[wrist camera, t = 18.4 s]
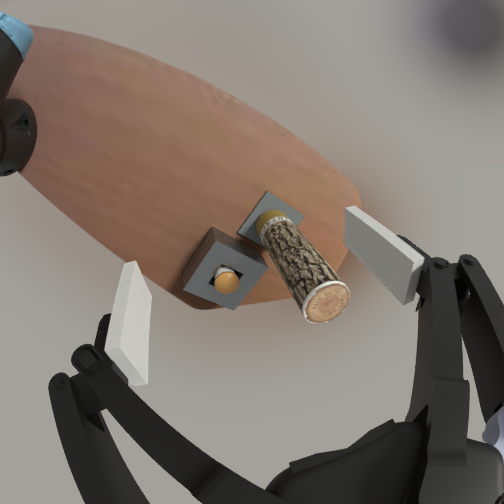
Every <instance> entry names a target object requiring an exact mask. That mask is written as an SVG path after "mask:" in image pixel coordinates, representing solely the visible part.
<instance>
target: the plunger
mask: <svg viewBox="0 0 504 504" xmlns="http://www.w3.org/2000/svg"><path fill="white" fill-rule="evenodd" d="M214 277H215V281H214V284H215V288H216V290H217V291H218V292H220V293H222V294H229V293H232V292H234V291H235V290H236V289H237V288H238V287H239V279H238V276H237V275H236V274H235V272H234V269H232V268H229V267H227V266H225V265H223V264H221V266H220V267H219V269H218V270H217V271H216V273H215V274H214Z"/></svg>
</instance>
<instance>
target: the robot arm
mask: <svg viewBox="0 0 504 504" xmlns="http://www.w3.org/2000/svg"><path fill="white" fill-rule="evenodd" d="M33 36H34V34H33V31H32V30H31V28H30V27H28V26H27V25H26V24H25V23H23V22H21V21H20V20H18V19H16V18H14V17H12V16H10V15H6V14H4V13H2V12H0V176H8V175H11V174H13V173H15V172H16V171H18V170H20V169H21V168H22V167H23V166H24V165H25V164H26V163H27V161H28V160H29V158H30V157H31V155H32V152H33V150H34V147H35V143H36V137H37V124H36V118H35V115H34V112H33V110H32V109H31V107H30V106H29V105H28V104H27V103H26V102H25V101H23V100H21V99H6V96H7V94H8V92H9V89H10V87H11V85H12V83H13V80H14V78H15V76H16V74H17V72H18V70H19V68H20V66H21V64H22V63H23V62H24V59H25V55H26V53H27V51H28V49H29V48H30V46H31V44H32V42H33ZM5 99H6V100H5ZM344 245H345V246H346V247H347V248H348V249H349V250H350V251H351V252H352V253H353V254H354V255H355V256H356V257H357V258H358V259H359V260H360V261H361V262H362V263H363V264H364V265H365V266H366V267H367V268H368V269H369V270H370V271H371V272H372V273H373V274H374V275H375V276H376V277H377V278H378V279H379V280H380V281H381V282H382V283H383V284H384V285H385V286H386V287H387V289H389V291H390V292H391V293H392V294H393V295H394V296H395V297H396V298H397V299H398V300H399V301H400V302H401V303H402V304H403V305H405V304H407V303H409V302H411V301H413V300H414V297H415V293H416V292H417V293H418V294H419V295H420V298H419V301H418V304H417V307H416V311H417V310H418V308H419V314H418V340H417V354H416V365H415V375H414V383H413V390H412V397H411V403H410V408H409V411H408V414H407V416H406V418H405V421H404V422H399V423H395V422H394V420H393V419H391V420H389V421H387V422H385V423H384V424H382V425H380V426H378V427H376V428H374V429H372V430H370V431H369V432H367V433H366V434H365V435H364V436H363V437H361V438H360V439H359V440H357V441H356V442H355V443H354V444H352V445H351V446H350V447H348V448H346V449H341V450H336V451H330V452H323V453H317V454H314V455H311V456H308V457H305V458H302V459H299V460H296V461H293V462H290V463H289V465H290V467H289V468H287V469H285V470H284V471H282V472H281V473H280V474H278V475H277V476H276V477H275V478H274V479H273V480H272V481H271V482H270V483H269V485H268V486H267V488H266V489H265V490H264V489H262V488H260V487H258V486H256V485H255V484H253V483H251V482H250V481H248V480H246V479H244V478H243V477H241V476H240V475H238V474H236V473H234V472H233V471H232V470H230V469H228V468H227V467H225V466H224V465H222V464H221V463H219V462H217V461H216V460H214V459H213V458H211V457H210V456H209V455H207V454H206V453H205V452H203V451H202V450H200V449H199V448H198V447H196V446H195V445H194V444H193V443H191V442H190V441H188V440H187V439H186V438H185V437H184V436H182V435H181V434H180V433H179V432H177V431H176V430H175V429H174V428H173V427H171V426H170V425H169V424H168V423H167V422H166V421H165V420H163V419H162V418H161V417H160V416H159V415H158V414H157V413H156V412H154V411H153V410H152V409H151V408H150V407H149V406H148V405H147V404H146V403H145V402H144V401H143V400H142V399H141V398H140V397H139V396H138V395H137V394H136V393H135V392H134V391H133V390H132V389H131V388H130V387H129V386H128V380H129V381H130V383H131V384H132V385H133V386H139V385H145V384H148V351H149V350H148V349H149V328H150V327H149V326H150V312H151V299H152V296H151V294H150V292H149V289H148V287H147V285H146V283H145V281H144V278H143V276H142V274H141V271H140V269H139V267H138V265H137V262H136V261H132V262H128V263H125V264H124V266H123V270H122V274H121V277H120V281H119V286H118V289H117V293H116V297H115V301H114V306H113V310H112V313H110V314H106V315H104V316H103V318H102V319H101V321H100V322H99V326H98V331H97V335H96V339H95V343H94V346H92V345H91V344H84V345H81V346H80V347H79V348H77V349H76V350H75V351H74V353H73V355H72V358H71V362H72V365H73V366H74V367H75V368H76V369H77V371H78V372H79V374H77V375H74V376H72V377H69V376H68V375H67V374H65V373H58V374H56V375H54V376H53V377H52V379H51V380H50V382H49V387H48V390H49V395H50V400H51V405H52V409H53V413H54V418H55V422H56V426H57V429H58V433H59V436H60V440H61V443H62V446H63V449H64V453H65V455H66V458H67V461H68V464H69V467H70V469H71V472H72V475H73V477H74V480H75V482H76V484H77V487H78V489H79V491H80V494H81V496H82V498H83V500H84V502H85V504H150V503H149V502H148V500H147V499H146V497H145V495H144V494H143V492H142V491H141V489H140V488H139V486H138V485H137V483H136V481H135V479H134V478H133V476H132V474H131V473H130V471H129V469H128V468H127V465H126V464H125V462H124V460H123V458H122V456H121V454H120V452H119V450H118V448H117V446H116V444H115V442H114V440H113V438H112V436H111V434H110V432H109V430H108V427H107V425H106V423H105V421H104V418H103V416H102V413H101V411H102V410H104V409H106V408H107V409H108V411H109V412H110V413H111V414H112V416H113V417H114V418H115V419H116V420H117V422H118V423H119V424H120V425H121V426H122V427H123V428H124V430H125V431H126V432H127V433H128V434H129V435H130V436H131V437H132V438H133V439H134V440H135V441H136V442H137V443H138V444H139V446H140V447H141V448H142V449H143V450H144V451H145V452H146V453H147V454H148V455H149V456H150V457H151V458H152V459H153V460H155V461H156V462H157V463H158V464H159V465H160V466H161V467H162V468H163V469H164V470H166V471H167V472H168V473H169V474H170V475H171V476H172V477H173V478H175V479H176V480H177V481H178V482H179V483H181V484H182V485H183V486H184V487H185V488H187V489H188V490H189V491H190V492H191V494H192V495H193V496H194V497H195V498H196V499H197V500H198V501H200V502H201V503H202V504H504V305H503V303H502V301H501V299H500V297H499V295H498V294H497V292H496V290H495V288H494V286H493V285H492V283H491V281H490V279H489V278H488V276H487V274H486V273H485V271H484V269H483V268H482V266H481V265H480V263H479V262H478V260H477V259H476V258H474V257H473V256H471V255H467V254H464V255H461V256H460V258H459V261H458V263H453V264H450V263H449V262H448V261H447V260H445V259H443V258H439V257H435V258H431V257H430V256H429V255H427V254H426V253H425V252H424V251H422V250H421V249H420V248H418V247H416V245H415V244H413V243H412V242H411V241H409V240H408V239H407V238H405V237H402V236H400V235H395V234H393V233H392V232H391V231H389V230H388V229H387V228H385V227H384V226H383V225H381V224H380V223H379V222H377V221H376V220H374V219H373V218H372V217H370V216H369V215H367V214H366V213H365V212H363V211H362V210H360V209H359V208H357V207H356V206H351V207H346V208H345V234H344ZM469 292H470V295H469ZM461 335H462V337H461ZM462 338H463V341H464V344H465V347H466V350H467V353H468V357H469V361H470V364H471V368H472V372H473V376H474V380H475V383H476V388H477V392H478V397H479V402H480V407H481V411H482V414H483V417H484V420H485V423H486V428H485V431H484V432H483V434H482V439H483V441H485V442H487V443H483V442H479V441H475V440H472V439H468V438H467V431H468V419H469V399H470V385H469V382H468V380H464V379H463V355H462V354H463V353H462Z"/></svg>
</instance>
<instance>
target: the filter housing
mask: <svg viewBox="0 0 504 504" xmlns="http://www.w3.org/2000/svg"><path fill="white" fill-rule="evenodd" d="M221 264H223V265H225V266H227V267H229V268H232V269H234V272H235V274H236V275H237V276H238V279H239V287H238V288H237V289H236V290H235V291H234V292H232V293H229V294H222V293H220V292H218V291H217V290H216V288H215V284H214V281H215V277H214V274H215V273H216V271H217V270H218V269H219V267H220V266H221ZM267 269H268V266H267V264H266V262H265V260H264V258H263V256H262V254H261V252H259V251H257V250H255V249H253V248H252V247H250V246H248V245H246V244H244V243H242V242H240V241H238V240H237V239H235V238H233V237H231V236H229V235H227V234H225V233H223V232H222V231H220V230H218V229H216V228H214V227H212V228H211V229H210V231H209V232H208V234H207V235H206V237H205V238H204V240H203V241H202V243H201V244H200V246H199V247H198V249H197V250H196V252H195V253H194V255H193V256H192V258H191V260H190V261H189V263H188V264H187V266H186V267H185V269H184V271H183V272H182V279H183V290H184V291H187V292H189V293H191V294H194V295H196V296H199V297H201V298H204V299H206V300H209V301H211V302H214V303H216V304H219V305H221V306H224V307H226V308H229V309H232V310H235V309H236V307H237V306H238V305H239V304H240V303H241V301H242V300H243V299H244V298H245V296H246V295H247V294H248V293H249V291H250V290H251V289H252V288H253V286H254V285H255V284H256V283H257V281H258V280H259V279H260V278H261V276H262V275H263V274H264V273H265V271H266V270H267Z"/></svg>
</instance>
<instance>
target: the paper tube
mask: <svg viewBox="0 0 504 504" xmlns="http://www.w3.org/2000/svg"><path fill="white" fill-rule="evenodd" d="M256 231H257V234H258V235H259V237H260V239H261V241H262V243H263V244H264V246H265V248H266V250H267V251H268V253H269V255H270V257H271V258H272V260H273V262H274V264H275V265H276V267H277V269H278V271H279V273H280V274H281V276H282V278H283V280H284V281H285V283H286V285H287V287H288V289H289V290H290V292H291V294H292V296H293V297H294V299H295V301H296V303H297V305H298V306H299V308H300V310H301V312H302V314H303V315H304V317H305V318H306V320H307V321H309V322H311V323H314V324H319V323H320V324H321V323H325V322H328V321H330V320H332V319H334V318H335V317H337V316H338V315H339V314H341V312H342V311H343V310H344V309H345V307H346V306H347V305H348V302H349V300H350V291H349V289H348V287H347V286H346V285H345V284H344V282H343V281H342V280H341V279H340V278H339V276H338V275H337V274H336V272H335V271H334V270H333V269H332V268H331V266H330V265H329V264H328V263H327V262H326V260H325V259H324V258H323V257H322V256H321V255H320V253H319V252H318V251H317V250H316V249H315V248H314V246H313V245H312V244H311V243H310V242H309V241H308V239H307V238H306V237H305V236H304V235H303V234H302V233H301V231H300V230H299V229H298V228H297V227H296V226H295V225H294V223H293V222H292V221H291V220H290V219H289V218H288V217H287V216H286V215H285V214H284V213H283V212H281V211H279V210H269V211H267V212H265V213H263V214H262V215H261V216H260V217H259V219H258V221H257V224H256Z"/></svg>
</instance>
